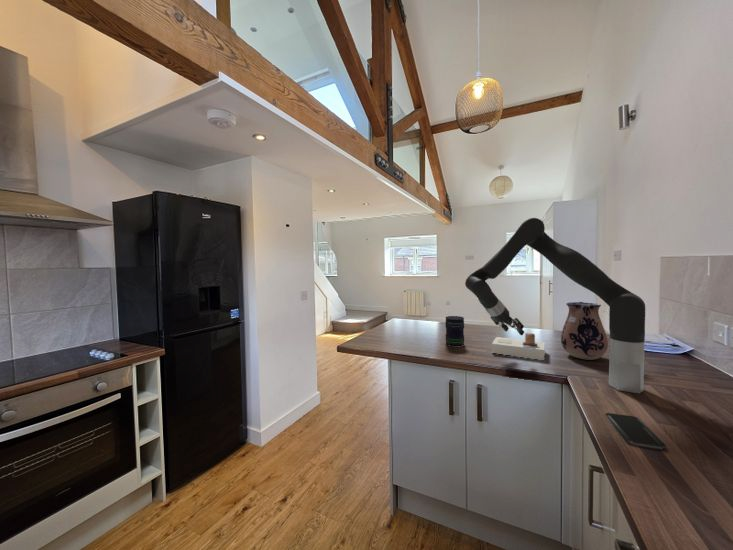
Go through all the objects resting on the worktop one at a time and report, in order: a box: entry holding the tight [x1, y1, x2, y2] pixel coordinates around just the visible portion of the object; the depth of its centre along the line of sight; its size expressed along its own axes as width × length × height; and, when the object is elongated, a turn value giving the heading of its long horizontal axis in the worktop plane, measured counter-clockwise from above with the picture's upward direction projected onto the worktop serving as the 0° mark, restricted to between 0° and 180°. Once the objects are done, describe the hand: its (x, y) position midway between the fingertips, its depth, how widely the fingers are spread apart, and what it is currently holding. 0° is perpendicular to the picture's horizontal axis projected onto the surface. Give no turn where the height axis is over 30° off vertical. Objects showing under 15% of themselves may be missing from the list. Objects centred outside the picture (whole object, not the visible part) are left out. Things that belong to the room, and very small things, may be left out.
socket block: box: [491, 336, 546, 361], centre depth 145 cm, size 14×22×5 cm, turn 58°
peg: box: [524, 332, 536, 346], centre depth 142 cm, size 4×4×8 cm
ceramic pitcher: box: [560, 301, 609, 361], centre depth 138 cm, size 18×21×25 cm
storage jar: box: [445, 315, 465, 347], centre depth 161 cm, size 10×10×15 cm
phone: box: [605, 412, 667, 451], centre depth 78 cm, size 8×1×15 cm
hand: (514, 331), depth 138 cm, fingers open, 8 cm apart
